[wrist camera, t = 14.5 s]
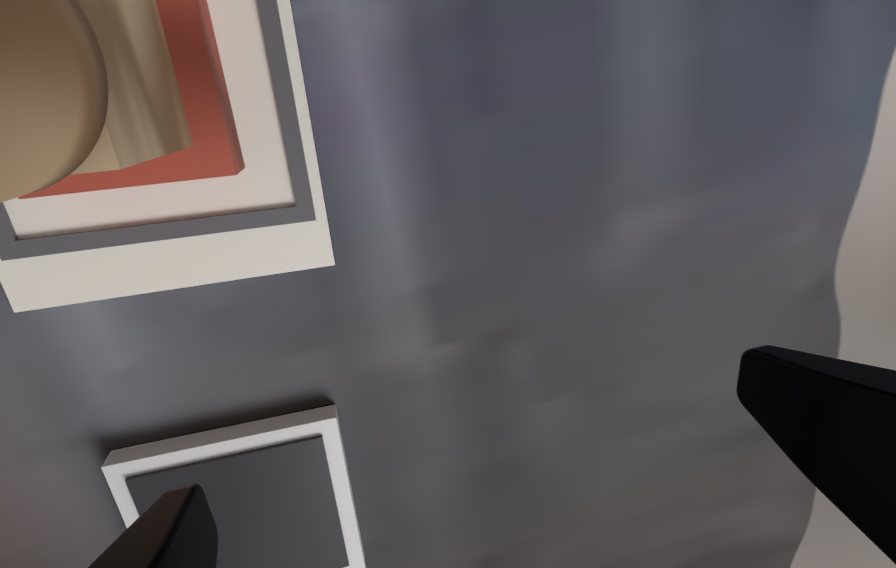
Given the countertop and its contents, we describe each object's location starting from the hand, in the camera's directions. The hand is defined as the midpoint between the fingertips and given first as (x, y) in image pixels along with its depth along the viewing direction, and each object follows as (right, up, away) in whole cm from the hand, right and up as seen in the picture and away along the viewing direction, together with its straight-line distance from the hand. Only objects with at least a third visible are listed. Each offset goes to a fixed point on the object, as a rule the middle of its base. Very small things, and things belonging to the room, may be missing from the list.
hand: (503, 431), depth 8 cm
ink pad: (-10, -8, +14) cm, 19 cm away
